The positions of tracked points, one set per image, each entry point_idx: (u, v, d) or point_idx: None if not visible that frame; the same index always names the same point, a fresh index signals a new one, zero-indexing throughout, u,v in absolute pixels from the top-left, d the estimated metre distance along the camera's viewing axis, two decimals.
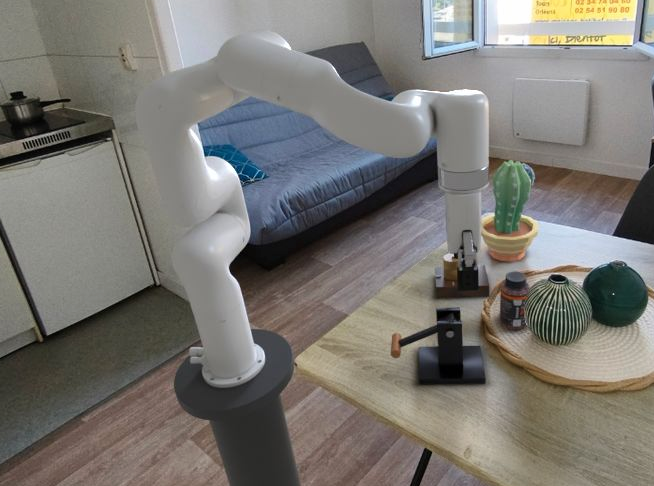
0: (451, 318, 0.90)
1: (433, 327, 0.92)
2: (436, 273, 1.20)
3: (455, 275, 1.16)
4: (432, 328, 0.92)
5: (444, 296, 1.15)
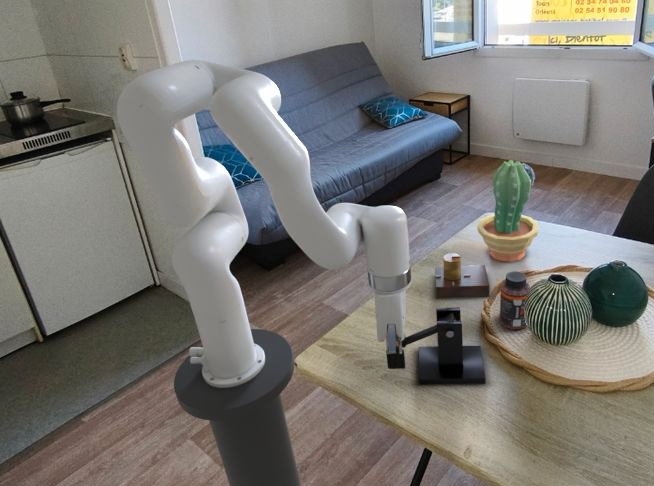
0: (451, 318, 0.90)
1: (433, 327, 0.92)
2: (436, 273, 1.20)
3: (455, 275, 1.16)
4: (432, 328, 0.92)
5: (444, 296, 1.15)
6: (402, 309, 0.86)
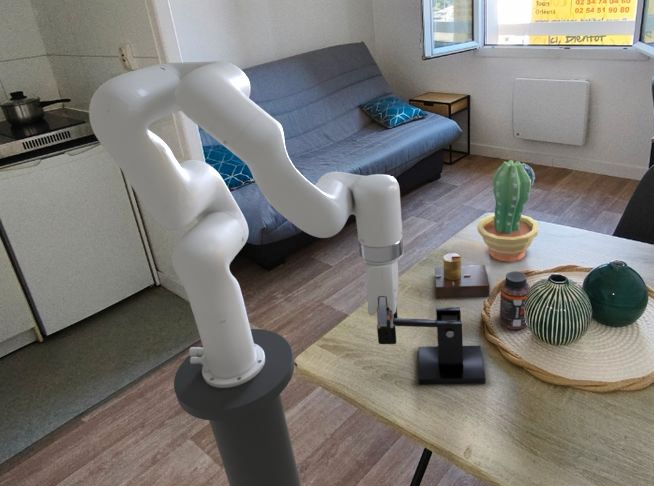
0: (455, 320, 0.90)
1: (433, 320, 0.91)
2: (436, 273, 1.20)
3: (455, 275, 1.16)
4: (431, 321, 0.91)
5: (444, 296, 1.15)
6: (394, 281, 0.83)
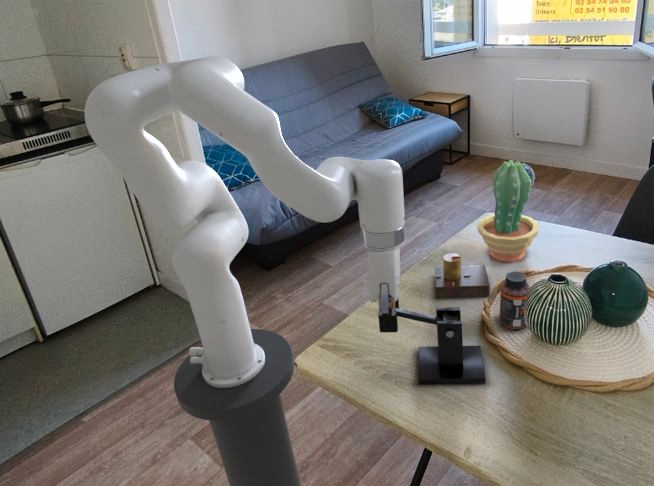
0: None
1: (434, 318, 0.91)
2: (436, 273, 1.20)
3: (455, 275, 1.16)
4: (433, 318, 0.91)
5: (444, 296, 1.15)
6: (396, 267, 0.82)
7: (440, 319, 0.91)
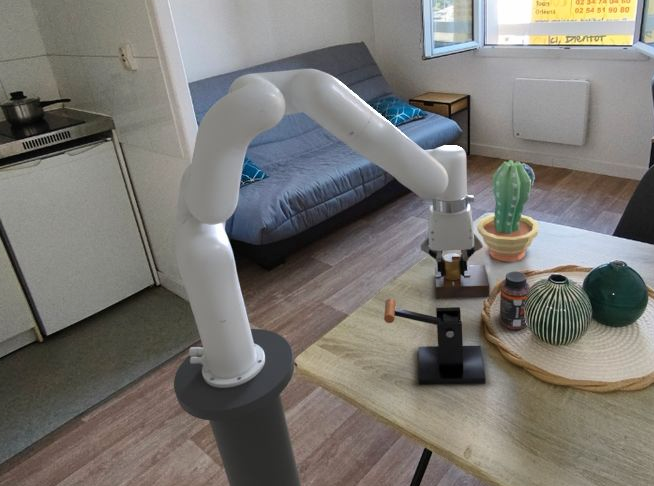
0: None
1: (434, 318, 0.91)
2: (436, 273, 1.20)
3: (455, 275, 1.16)
4: (433, 318, 0.91)
5: (444, 296, 1.15)
6: (432, 225, 1.11)
7: (440, 319, 0.91)
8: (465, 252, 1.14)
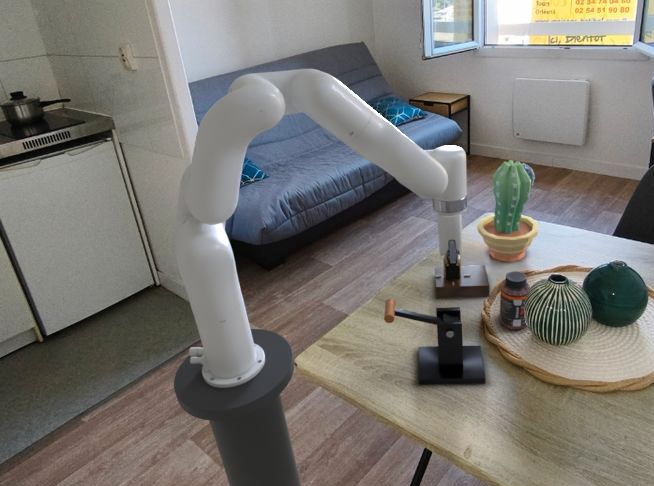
0: None
1: (434, 318, 0.91)
2: (436, 273, 1.20)
3: None
4: (433, 318, 0.91)
5: (444, 296, 1.15)
6: (461, 228, 1.08)
7: (440, 319, 0.91)
8: None
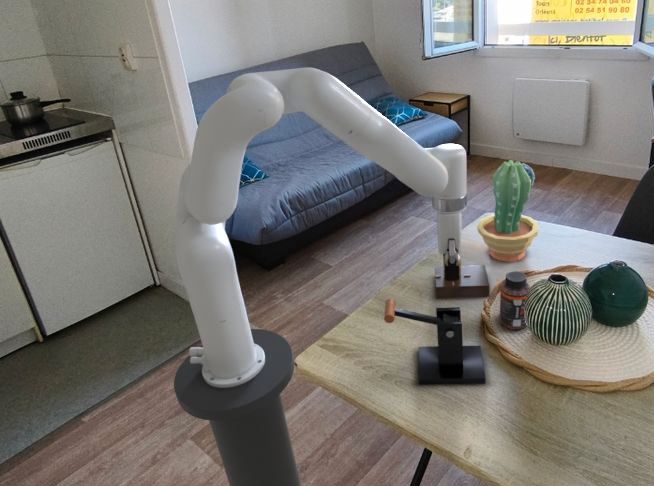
0: None
1: (434, 318, 0.91)
2: (436, 273, 1.20)
3: None
4: (433, 318, 0.91)
5: (444, 296, 1.15)
6: (460, 226, 1.08)
7: (440, 319, 0.91)
8: None
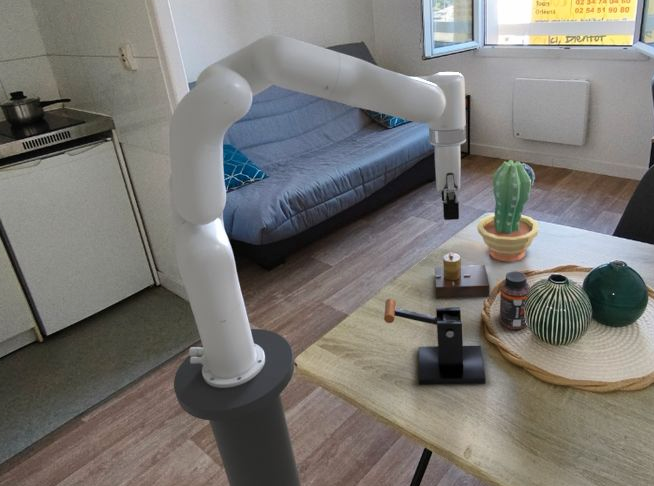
0: None
1: (434, 318, 0.91)
2: (436, 273, 1.20)
3: None
4: (433, 318, 0.91)
5: (444, 296, 1.15)
6: (459, 160, 1.02)
7: (440, 319, 0.91)
8: None
